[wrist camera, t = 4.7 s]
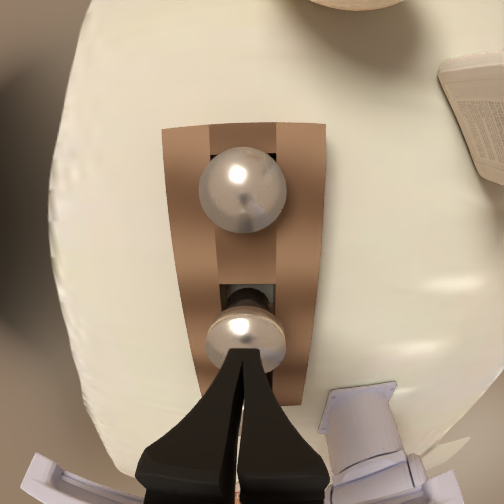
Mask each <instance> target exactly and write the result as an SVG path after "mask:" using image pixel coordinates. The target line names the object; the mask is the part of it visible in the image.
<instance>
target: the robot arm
mask: <svg viewBox="0 0 504 504" xmlns="http://www.w3.org/2000/svg"><path fill="white" fill-rule="evenodd" d="M396 386H397V383H396V382H395V381H393V382H387V383H381V384H375V385H368V386H361V387H353V388H345V389H335V390H332V391H330V393H329V396H328V399H327V403H326V406H325V410H324V413H323V416H322V419H321V423H320V426H319V429H318V433H319V434H326V438H327V444H328V450H329V457H330V464H331V469H332V472H333V474H334V475H335V476H333V477H332V480H333V484H331V485H329V486H328V487H327V485H328V484H329V482H330V477H329V473H328V470H327V468H326V466H325V464H324V462H323V460H322V458H321V456H320V455H319V454H318V453H317V452H316V451H314V450H313V448H312V447H311V446H310V445H309V444H308V443H307V442H306V441H305V440H304V439H303V438H302V436H301V435H300V434H299V433H298V431H297V430H296V429H295V427H294V426H293V425H292V424H291V422H290V421H289V419H288V418H287V416H286V415H285V413H284V412H283V410H282V408H281V407H280V405H279V403H278V401H277V399H276V397H275V395H274V393H273V391H272V389H271V387H270V385H269V382H268V380H267V377H266V375H265V372H264V369H263V365H262V361H261V356H260V350H259V349H258V348H230V349H229V350H228V353H227V355H226V358H225V360H224V362H223V364H222V366H221V368H220V370H219V372H218V373H217V375H216V377H215V379H214V380H213V382H212V383H211V385H210V386H209V388H208V389H207V391H206V392H205V394H204V395H203V396H202V398H201V399H200V400H199V402H198V403H197V404H196V405H195V406H194V408H193V409H192V410H191V411H190V412H189V413H188V414H187V415H186V416H185V417H184V418H183V419H182V420H181V421H180V422H179V423H178V424H177V425H176V426H175V427H173V428H172V429H171V430H170V431H169V432H168V433H166V434H165V435H164V436H163V437H161V438H160V439H158V440H157V441H156V442H154V443H153V444H151V445H150V446H148V447H147V448H145V450H144V452H143V454H142V455H141V458H140V460H139V462H138V465H137V469H136V473H135V477H136V479H137V480H138V481H139V482H140V483H141V484H142V485H143V486H144V487H145V488H146V489H147V490H146V494H145V498H143V497H139V496H136V495H132V494H129V493H125V492H122V491H119V490H115V489H112V488H109V487H106V486H103V485H100V484H98V483H95V482H92V481H90V480H87V479H85V478H82V477H80V476H77V475H75V474H73V473H70V472H68V471H66V470H63V469H62V467H61V466H60V465H58V464H57V463H56V462H54V461H52V460H51V459H49V458H47V457H45V456H43V455H41V454H39V453H35V455H34V457H33V459H32V461H31V464H30V466H29V468H28V470H27V472H26V475H25V477H24V479H23V481H22V484H21V486H20V488H21V489H22V490H24V491H25V492H27V493H28V494H30V495H31V496H33V497H34V498H36V499H38V500H39V501H41V502H42V503H44V504H235V486H236V463H237V444H238V434H239V428H240V422H241V416H242V410H243V403H244V410H243V421H242V431H241V440H240V449H239V457H238V464H237V474H238V479H239V485H240V497H239V503H241V504H464V501H463V497H462V494H461V491H460V488H459V485H458V482H457V479H456V476H455V473H454V470H453V469H450V470H448V471H446V472H443V473H441V474H438V475H436V476H434V477H431V478H429V479H428V477H427V474H426V471H425V468H424V465H423V463H422V460H421V458H420V456H419V455H416V454H414V453H412V454H410V455H407V454H406V453H405V450H404V447H403V444H402V441H401V438H400V435H399V432H398V429H397V426H396V423H395V420H394V417H393V414H392V412H391V409H390V406H389V403H388V402H389V400H390V398H391V396H392V394H393V392H394V390H395V388H396ZM326 487H327V489H326V491H324V490H325V488H326Z"/></svg>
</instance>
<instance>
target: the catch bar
mask: <svg viewBox="0 0 504 504" xmlns="http://www.w3.org/2000/svg"><path fill="white" fill-rule="evenodd" d="M162 145H163V160H164V172H165V184H166V194H167V204H168V213H169V221H170V230H171V237H172V245H173V252H174V259H175V266H176V272H177V278H178V285H179V290H180V296H181V302H182V307H183V313H184V318H185V323H186V328H187V333H188V338H189V343H190V348H191V353H192V357H193V362H194V366H195V370H196V375H197V379H198V383H199V387H200V391H201V395H202V396H203V395H204V394H205V392H206V391H207V389H208V388H209V386H210V385H211V383H212V382H213V380H214V379H215V377H216V375H217V373H218V372H219V370H220V369H219V368H218V367H216V366H215V365H214V364H213V363H212V362H211V361H210V359H209V358H208V356H207V354H206V350H205V343H206V338H207V334H208V330H209V326H210V324H211V322H212V320H213V319H214V318H215V317H216V316H217V315H218V314H219V313H220V312H222V311H224V310H226V308H227V293H226V284H274V288H273V304H269V312H270V313H271V314H273V315H274V316H275V317H276V318H277V319H278V320H279V321H280V322H281V324H282V326H283V329H284V334H285V344H286V352H285V356H284V358H283V360H282V362H281V363H280V364H279V365H278V366H277V367H276V368H274V369H273V370H271V372H267V373H265V375H266V377H267V379H268V382H269V385H270V387H271V389H272V391H273V393H274V395H275V397H276V399H277V401H278V403H279V405H280V406H292V405H301V402H302V396H303V390H304V384H305V378H306V372H307V366H308V359H309V352H310V345H311V338H312V330H313V322H314V314H315V306H316V297H317V287H318V277H319V266H320V254H321V241H322V227H323V209H324V188H325V151H326V124H315V123H285V122H259V123H228V124H212V125H199V126H188V127H178V128H169V129H162ZM235 147H252V148H256V149H259V150H261V151H263V152H265V153H274V160H275V162H276V163H277V164H278V166H279V167H280V169H281V171H282V173H283V175H284V178H285V181H286V188H287V194H286V201H285V204H284V207H283V209H282V211H281V213H280V214H279V216H278V217H277V218H276V219H275V220H274V221H273V222H272V223H271V224H270V225H268V226H267V227H265V228H263V229H261V230H259V231H256V232H252V233H234V232H230V231H227V230H225V229H222V228H221V227H219V226H217V225H216V224H215V223H213V222H212V221H211V220H210V219H209V217H208V216H207V215H206V213H205V212H204V210H203V208H202V206H201V203H200V199H199V181H200V178H201V175H202V173H203V171H204V169H205V167H206V166H207V165H208V163H209V162H210V161H211V160H212V159H213V158H214V157H216V156H217V155H218V154H220V153H222V152H224V151H226V150H229V149H231V148H235Z"/></svg>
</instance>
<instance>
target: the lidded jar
mask: <svg viewBox="0 0 504 504" xmlns="http://www.w3.org/2000/svg"><path fill="white" fill-rule="evenodd" d="M310 1H312V2H314V3H317V4H320V5H324V6H327V7H331V8H336V9H342V10H350V11H364V10H376V9H380V8H384V7H388V6H392V5H394V4H397V3H399V2H401V1H403V0H310Z"/></svg>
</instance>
